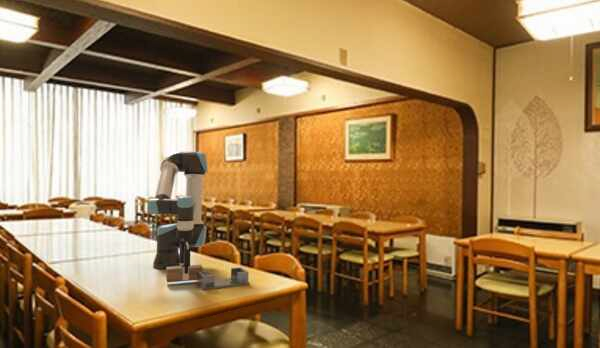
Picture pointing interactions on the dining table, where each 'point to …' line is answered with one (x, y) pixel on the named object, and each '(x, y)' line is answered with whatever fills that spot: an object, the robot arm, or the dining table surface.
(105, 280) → the dining table surface
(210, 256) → the dining table surface
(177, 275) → the brown wooden block
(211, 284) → the bracket
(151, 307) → the dining table surface
